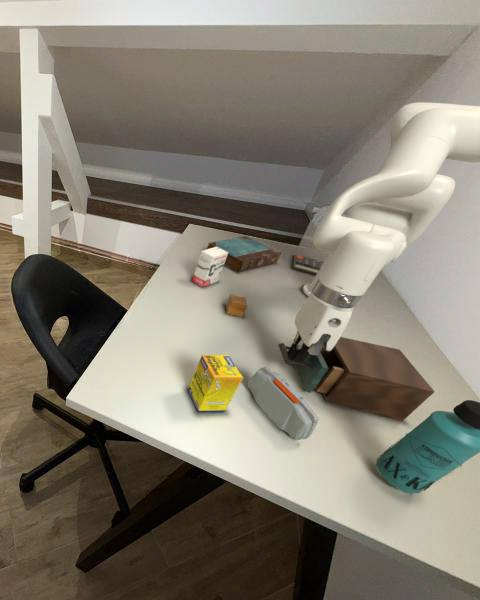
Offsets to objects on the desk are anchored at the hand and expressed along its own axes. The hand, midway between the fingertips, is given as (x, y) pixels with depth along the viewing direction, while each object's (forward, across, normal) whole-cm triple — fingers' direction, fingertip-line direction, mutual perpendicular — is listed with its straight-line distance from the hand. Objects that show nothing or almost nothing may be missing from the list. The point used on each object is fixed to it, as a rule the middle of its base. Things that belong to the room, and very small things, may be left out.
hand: (293, 359), depth 72 cm
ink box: (+5, +39, +17) cm, 43 cm away
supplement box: (+5, -15, +19) cm, 25 cm away
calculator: (+5, +70, -25) cm, 75 cm away
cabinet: (+5, 0, -14) cm, 15 cm away
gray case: (+5, -14, +6) cm, 16 cm away
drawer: (+4, 0, -7) cm, 8 cm away
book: (+5, +66, +2) cm, 66 cm away
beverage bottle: (+5, -22, -13) cm, 26 cm away
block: (+5, +24, +9) cm, 26 cm away
